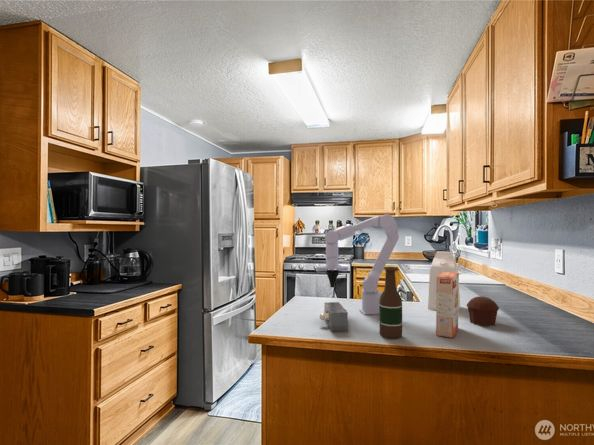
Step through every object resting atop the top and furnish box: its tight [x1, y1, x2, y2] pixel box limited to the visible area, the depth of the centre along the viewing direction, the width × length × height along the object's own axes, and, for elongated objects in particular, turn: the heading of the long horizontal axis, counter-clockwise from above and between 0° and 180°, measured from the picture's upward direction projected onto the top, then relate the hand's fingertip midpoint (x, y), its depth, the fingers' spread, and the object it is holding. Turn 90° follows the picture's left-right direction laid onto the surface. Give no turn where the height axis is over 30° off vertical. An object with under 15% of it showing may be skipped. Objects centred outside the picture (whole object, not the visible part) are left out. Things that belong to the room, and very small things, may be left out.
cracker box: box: [435, 272, 460, 339], centre depth 124 cm, size 14×6×21 cm, turn 148°
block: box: [323, 301, 349, 333], centre depth 133 cm, size 6×16×7 cm, turn 5°
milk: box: [427, 250, 461, 311], centre depth 159 cm, size 12×12×26 cm
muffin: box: [466, 296, 500, 327], centre depth 135 cm, size 12×11×10 cm
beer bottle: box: [378, 266, 403, 340], centre depth 121 cm, size 8×8×24 cm
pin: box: [319, 312, 329, 321], centre depth 133 cm, size 10×5×5 cm, turn 95°
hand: (332, 287), depth 156 cm, fingers closed
